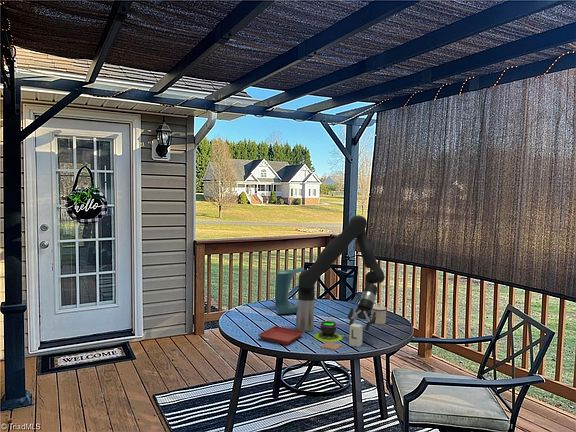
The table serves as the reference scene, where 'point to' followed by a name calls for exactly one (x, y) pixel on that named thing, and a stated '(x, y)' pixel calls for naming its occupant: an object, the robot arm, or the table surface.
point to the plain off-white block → (356, 335)
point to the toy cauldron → (328, 332)
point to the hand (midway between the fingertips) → (358, 328)
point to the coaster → (331, 346)
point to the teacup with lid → (379, 314)
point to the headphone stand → (285, 291)
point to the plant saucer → (280, 335)
